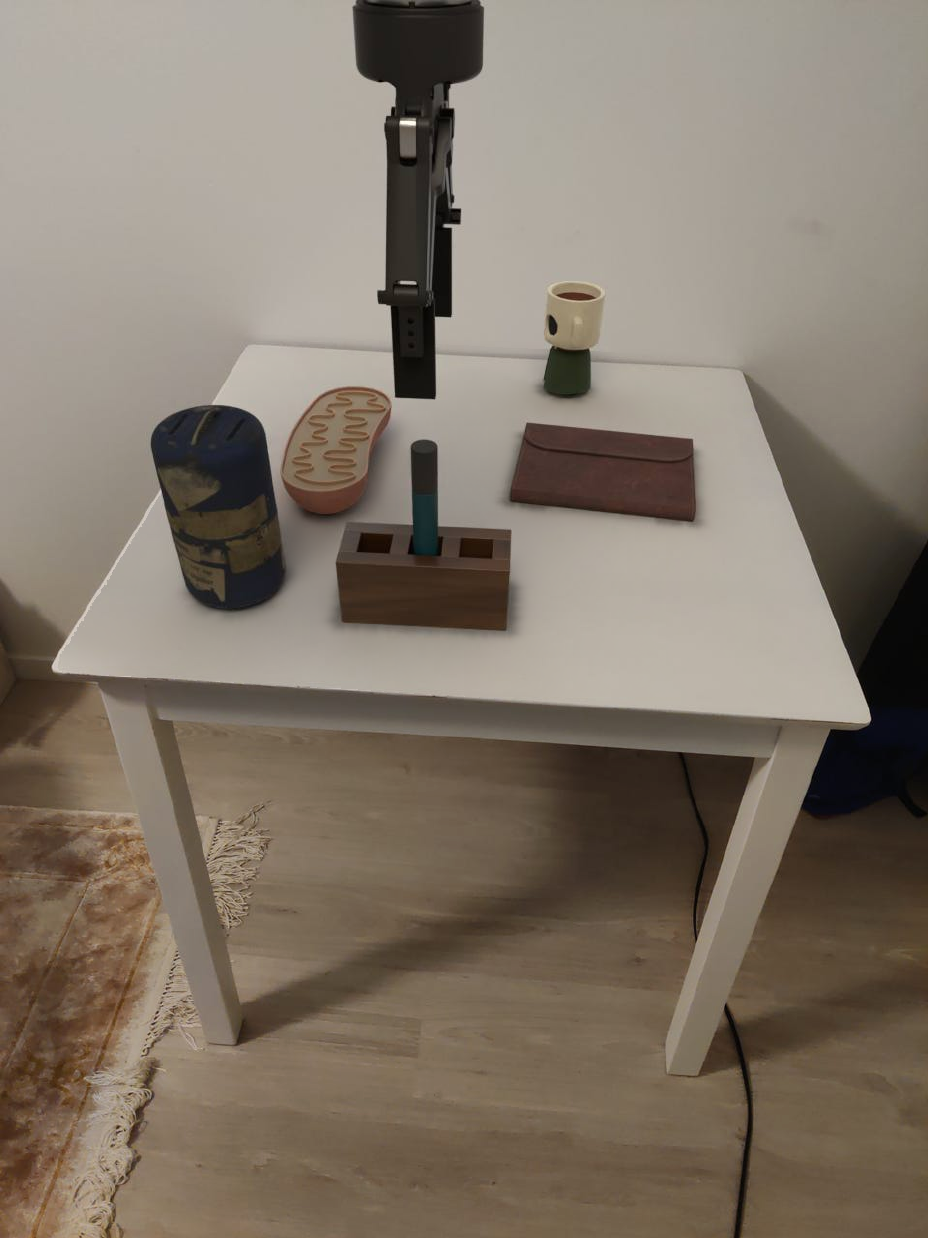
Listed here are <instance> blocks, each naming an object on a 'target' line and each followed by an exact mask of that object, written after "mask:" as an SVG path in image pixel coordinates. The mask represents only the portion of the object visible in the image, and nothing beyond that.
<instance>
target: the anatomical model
mask: <svg viewBox="0 0 928 1238" xmlns="http://www.w3.org/2000/svg"><path fill="white" fill-rule="evenodd" d="M392 407H393V405H392V400H391V398H390V397H389V396H388V394H386V393H385V392H383V391H381V390H378V389H376V388H373V387H369V386H363V385H346V386H340V387H336V388H335V387H334V388H332V389H329V390H326V391H324V392H322V393H320V394H319V395H318V396H317V397H316V398H314V399H313V401H312V402H311V403H310V404H309V406H307V408H306V409H305V410H304V411H303V412H302V414H301V415H300V417H299V418H298V420H297V421H296V422H295V424H294V425H293V428H292V429H291V431H290V434H289V435H288V438H287V440H286V444H285V446H284V449H283V454H282V458H281V463H280V468H279V472H280V473H279V474H280V477H281V481H282V483H283V488H284V489H285V491H286V492H287V494H288V496H289V497H290V498H291V500H292V501H293V502H294V503H296V504H297V505H298V506H299V507H301V508H303V509H305V510H307V511H308V512H312V513H315V514H320V515H332V514H337V513H340V512H343V511H345V510H347V509H348V508H350V507H352V506H353V505H354V504H356V502H357V501H358V500H359V499H360V497H362V495H363V493H364V491H365V489H366V487H367V482H368V476H369V464H370V458H371V455H372V452H373V449H374V447H375V444H376V443H377V442H378V441H379V439H380V437H381V436H382V434H383V433H384V431H385V430H386V428H387V426H388V425H389V422H390V419H391V416H392Z"/></svg>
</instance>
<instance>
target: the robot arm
mask: <svg viewBox="0 0 928 1238" xmlns="http://www.w3.org/2000/svg"><path fill="white" fill-rule="evenodd" d="M351 8H352V23H353V38H354V39H353V40H354V41H353V42H354V52H355V53H354V54H355V56H354V58H355V67H356V70H357V71H358V73H359V74H360V75H361V77H363V78H365V79H367V80H369V81H372V82H375V83H379V84H381V83H387V84H390V85H391V86H393V87H394V88H395V99H394V106H391V107H390V115H386V116H385V120H384V121H385V122H384V124H383V131H384V138H385V143H386V144H385V145H386V147H385V149H386V202H385V203H386V204H385V205H386V206H385V207H386V208H385V210H386V212H385V213H386V214H385V279H384V280H385V282H384V284H385V285H384V286H385V287H384V288H385V289H384V290H382V289H377V291H376V296H377V298H376V299H377V304H378V305H385V306H387V307H388V306H389V307H390V323H391V325H390V326H391V345H392V364H393V366H392V367H393V384H394V385H393V387H394V399H416V400H436V397H437V360H436V359H437V357H436V355H437V352H436V350H437V349H436V348H437V347H436V318H452V316H453V227H445V225H457V226H459V225H461V224H462V208H459V207H458V208H457V207H453V204H454V203H455V195H454V188H453V155H454V137H455V127H456V112H455V111H456V109H455V108H454V107H450V89H452V87H451V86H452V85H457V84H463V83H466V82H469V81H471V80H473V79H475V78H477V77H478V76H479V75H480V74H481V73H482V70H483V67H484V36H485V35H484V31H485V29H484V28H485V7H484V6H483V5H482V4H481V1H480V0H355V4H354V5H353V6H351ZM401 282H414V283H415V284H412V283H401Z"/></svg>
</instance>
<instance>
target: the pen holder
mask: <svg viewBox="0 0 928 1238" xmlns="http://www.w3.org/2000/svg"><path fill="white" fill-rule="evenodd" d="M511 557H512V529H510V528H509V529H507V528H488V527H487V528H486V527H467V526H466V527H465V526H448V525H447V526H446V525H438V556H423V555H414V551H413V524H404V523H383V522H382V523H381V522H366V521H365V522H363V521H346V523H345V527H344V530H343V535H342V539H341V541H340V545H339V549H338V553H337V555H336V559H335V570H336V579H337V581H336V582H337V588H338V589H337V590H338V600H339V608H340V618H341V622H342V623H351V624H352V623H353V624H373V625H388V626H389V625H390V626H391V625H392V626H410V627H428V628H446V629H447V628H448V629H469V630H486V631H504V632H505V631H507V624H508V610H509V609H508V608H509V597H510V596H509V595H510V579H511V560H512V559H511Z"/></svg>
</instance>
